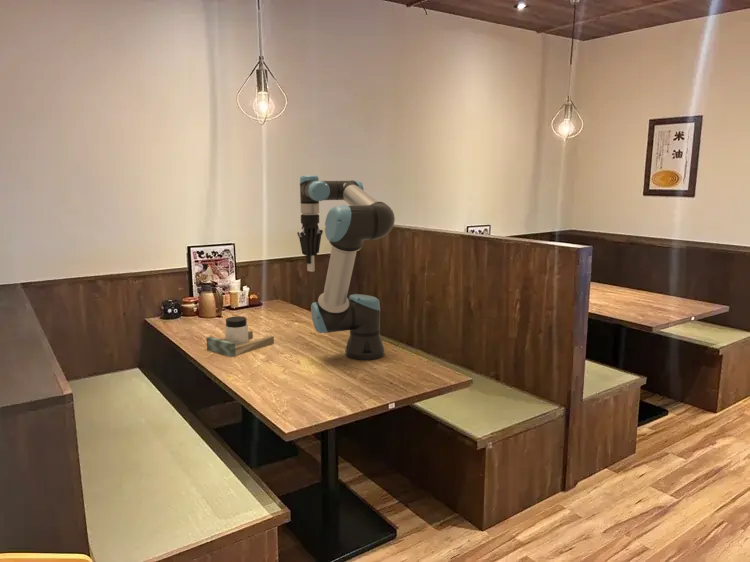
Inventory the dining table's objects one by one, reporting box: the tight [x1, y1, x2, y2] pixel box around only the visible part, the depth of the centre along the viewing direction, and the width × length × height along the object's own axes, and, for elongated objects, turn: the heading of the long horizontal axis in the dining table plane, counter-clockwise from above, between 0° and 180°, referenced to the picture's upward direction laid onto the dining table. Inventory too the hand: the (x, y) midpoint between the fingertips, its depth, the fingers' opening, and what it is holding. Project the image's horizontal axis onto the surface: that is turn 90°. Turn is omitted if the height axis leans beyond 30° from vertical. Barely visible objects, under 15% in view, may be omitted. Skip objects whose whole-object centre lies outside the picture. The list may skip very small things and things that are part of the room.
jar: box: [224, 315, 250, 346], centre depth 232 cm, size 9×8×12 cm
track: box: [205, 329, 275, 358], centre depth 234 cm, size 15×22×5 cm
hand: (311, 271), depth 239 cm, fingers closed
